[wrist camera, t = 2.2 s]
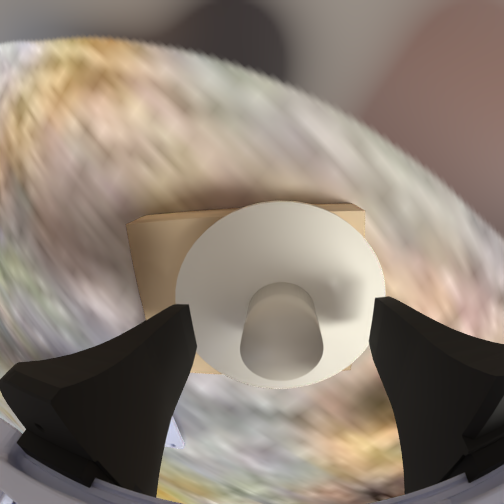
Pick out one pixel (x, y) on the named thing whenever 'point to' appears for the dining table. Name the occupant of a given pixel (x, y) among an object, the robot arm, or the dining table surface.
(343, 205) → the trivet
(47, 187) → the dining table surface
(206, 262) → the lid
